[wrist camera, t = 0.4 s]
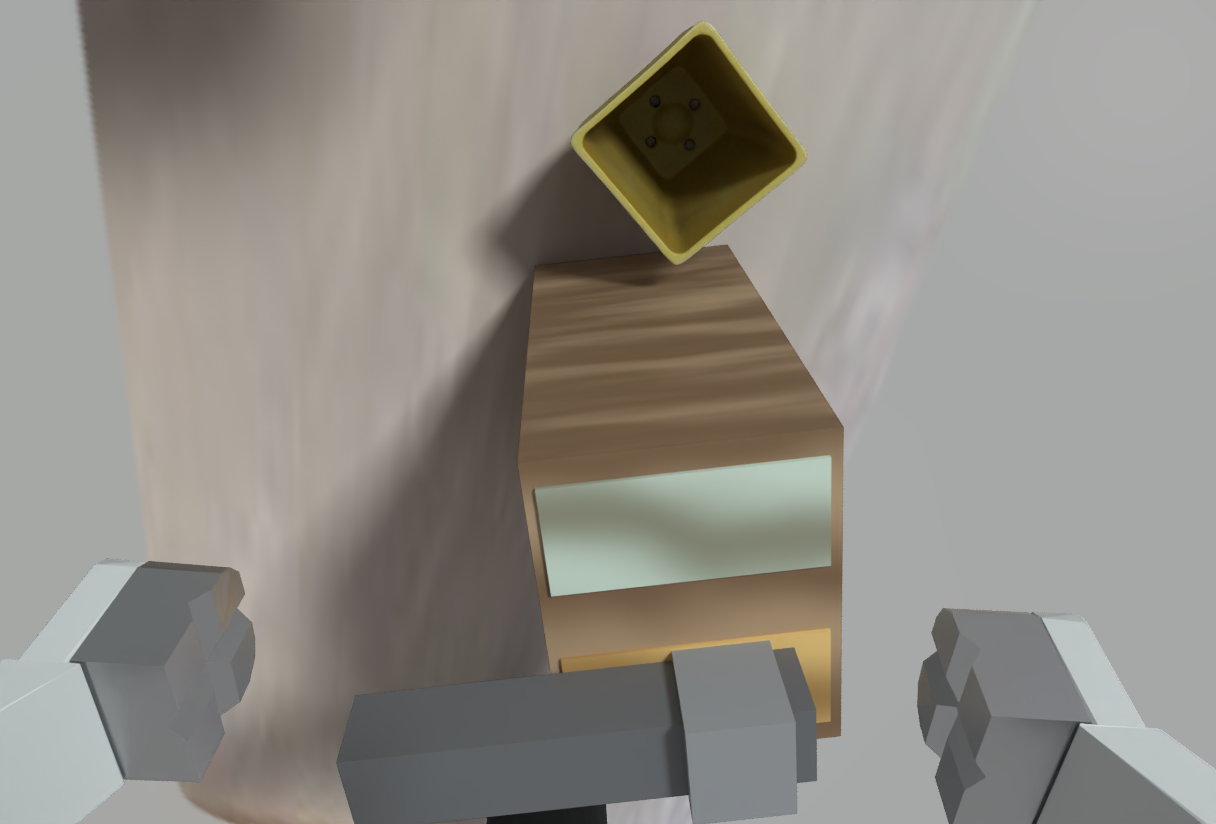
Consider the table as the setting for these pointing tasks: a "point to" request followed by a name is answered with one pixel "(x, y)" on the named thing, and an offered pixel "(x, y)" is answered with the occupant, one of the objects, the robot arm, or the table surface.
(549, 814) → the portable speaker
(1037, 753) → the robot arm
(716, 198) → the flower pot
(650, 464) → the panel block
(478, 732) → the dark grey square bar
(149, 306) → the table surface
